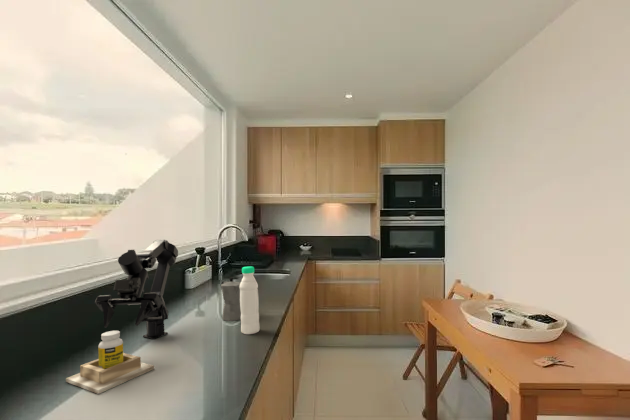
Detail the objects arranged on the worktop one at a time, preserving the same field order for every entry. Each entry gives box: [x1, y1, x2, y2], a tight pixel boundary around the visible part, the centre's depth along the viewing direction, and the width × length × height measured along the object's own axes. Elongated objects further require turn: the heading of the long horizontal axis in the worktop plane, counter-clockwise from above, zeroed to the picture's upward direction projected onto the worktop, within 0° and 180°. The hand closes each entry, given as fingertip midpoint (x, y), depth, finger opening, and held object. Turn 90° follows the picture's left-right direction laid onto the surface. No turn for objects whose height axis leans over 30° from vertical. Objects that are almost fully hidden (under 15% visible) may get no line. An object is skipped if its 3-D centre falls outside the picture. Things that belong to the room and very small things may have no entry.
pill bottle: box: [97, 330, 124, 369], centre depth 100 cm, size 6×6×11 cm
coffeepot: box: [220, 276, 242, 322], centre depth 155 cm, size 15×9×18 cm, turn 44°
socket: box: [65, 352, 155, 395], centre depth 100 cm, size 16×16×4 cm
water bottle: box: [239, 265, 261, 335], centre depth 134 cm, size 7×7×25 cm
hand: (120, 326), depth 107 cm, fingers open, 9 cm apart
